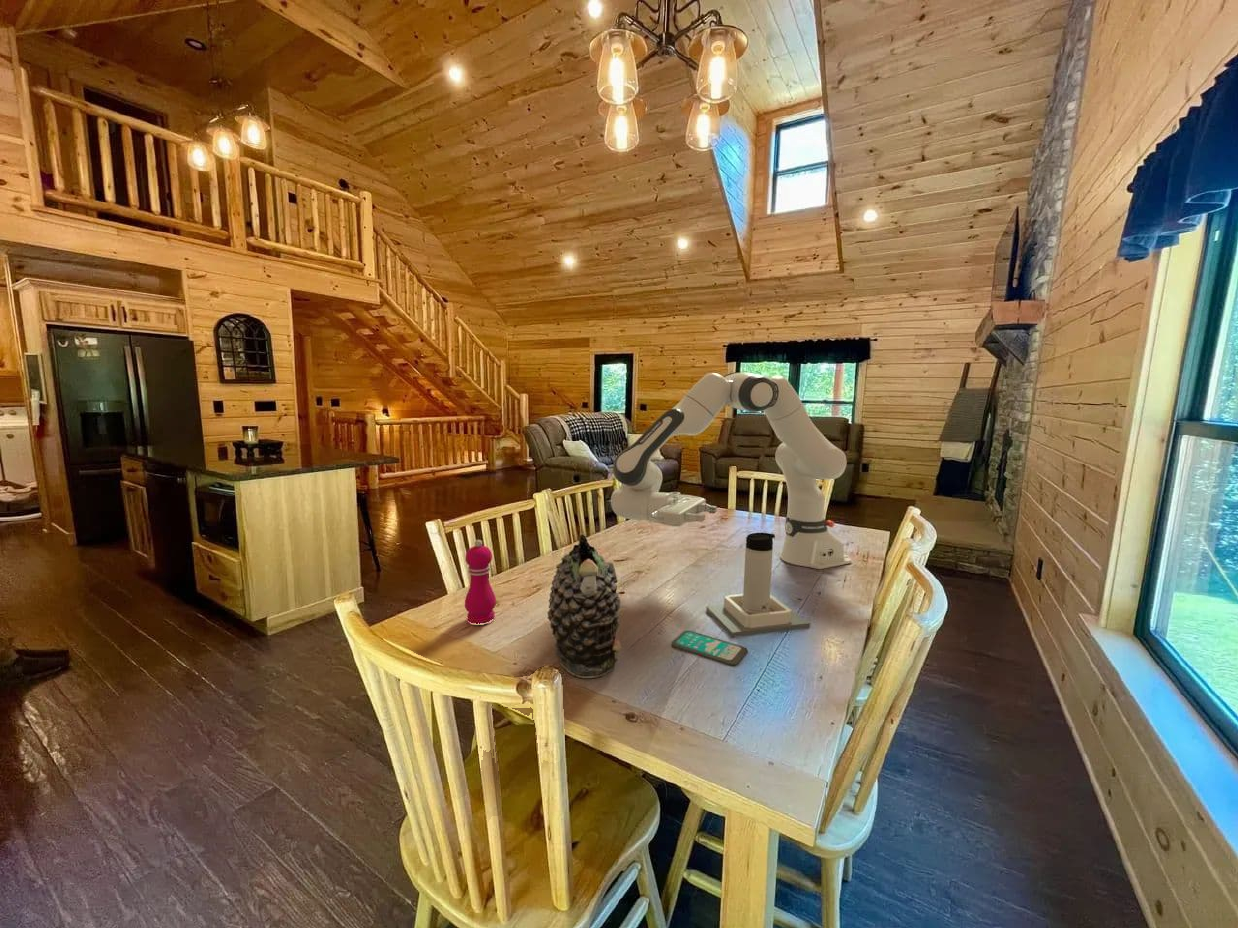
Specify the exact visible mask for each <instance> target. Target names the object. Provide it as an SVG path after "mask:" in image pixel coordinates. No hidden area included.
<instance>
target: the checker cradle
mask: <svg viewBox="0 0 1238 928" xmlns="http://www.w3.org/2000/svg"><path fill="white" fill-rule="evenodd" d="M739 606H743V593H740V594H737V593H736V594H728V595H726V596H724V597H723V604H716V605H707V606H706V608H705V609H706V612H707V613H708V614H709V615H710V616H711V617H712V618H713V619H714V621H715V622H716V623H717V624H718V625H720V626H721V628H722V629H724V631H725V632H726V633H727V634H728V635H729V636H730V637H731V638H732V639H733V638H739V637H741V638H742V637H747V636H755V635H762V634H763V635H764V634H771V633H779V632H786V631H787V632H788V631H794V630H795V631H796V630H802V629H809V628H811V622H810V621H809V620H807V619H806V618H804V617H803V616H801V615H800V614H798V613H797V612H796V611H794V609H792V608H790V607H789V606H788V605H786V604H785V603H784V602H782V601H781V600H779V599H778V598H776V597H774V596H773V595H772V594H770V604H769V609H771V610H772V611H773V612H768V613H759V614H751V615H749V614H747V613H746V612H745V611H744V610H743V609H742V608H741V607H739Z"/></svg>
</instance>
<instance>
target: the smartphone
mask: <svg viewBox="0 0 1238 928" xmlns="http://www.w3.org/2000/svg"><path fill="white" fill-rule="evenodd" d="M671 647H672V648H674V649H677V650H678V651H682V652H685V653H688V654H692V655H695V656H699V657H701V658H704V659H706V660H711V661H713V662H716V663H719V664H721V665H725V666H729V667H735V668H736V667H738V665H740V664H741V663H742V661H743V660H744V659H745V657H746V656H747V655H748V653H749V650H748V648H747V647H746V646H742V645H739V644H736V643H732V642H730V641H726V640H722V639H719V638H716V637H713V636H710V635H706V634H703V633H700V632H697V631H694V630H685V631H683V632H682V633H680V634H679V636H677V637H676V638H675V639H674V640H673V641H671Z"/></svg>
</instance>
